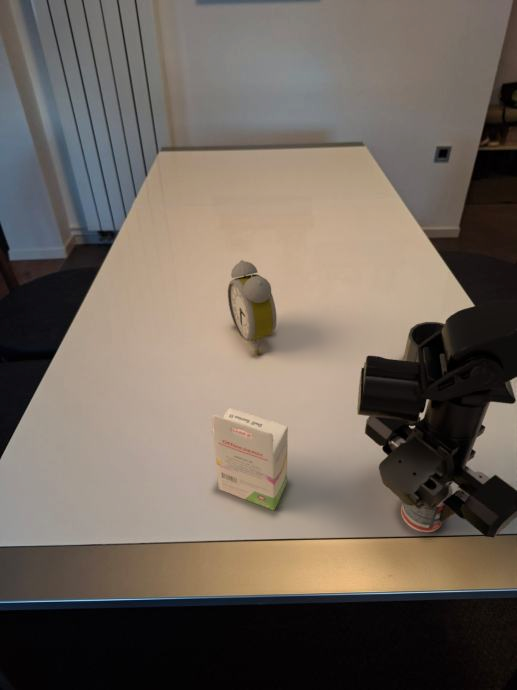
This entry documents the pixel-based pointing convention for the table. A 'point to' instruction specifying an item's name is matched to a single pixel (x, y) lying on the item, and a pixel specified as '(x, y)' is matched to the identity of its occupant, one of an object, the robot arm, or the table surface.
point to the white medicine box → (251, 457)
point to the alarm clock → (251, 304)
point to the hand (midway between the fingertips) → (424, 503)
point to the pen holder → (421, 340)
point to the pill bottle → (424, 515)
